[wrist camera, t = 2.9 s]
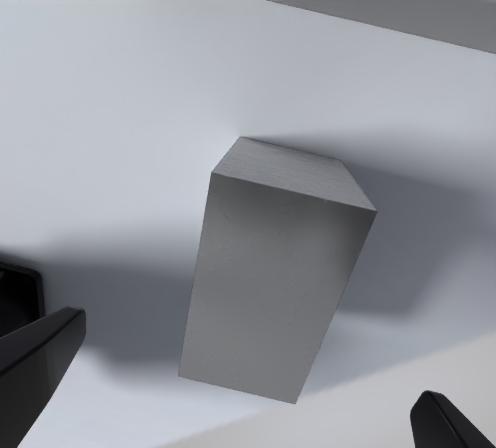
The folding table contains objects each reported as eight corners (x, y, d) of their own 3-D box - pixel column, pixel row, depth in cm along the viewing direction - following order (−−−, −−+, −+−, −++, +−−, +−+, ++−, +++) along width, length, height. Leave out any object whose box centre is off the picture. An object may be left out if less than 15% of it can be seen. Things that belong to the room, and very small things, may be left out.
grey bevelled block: (291, 301, 17) (295, 404, 12) (211, 282, 17) (177, 376, 12) (340, 159, 14) (377, 211, 8) (240, 136, 14) (211, 172, 8)
